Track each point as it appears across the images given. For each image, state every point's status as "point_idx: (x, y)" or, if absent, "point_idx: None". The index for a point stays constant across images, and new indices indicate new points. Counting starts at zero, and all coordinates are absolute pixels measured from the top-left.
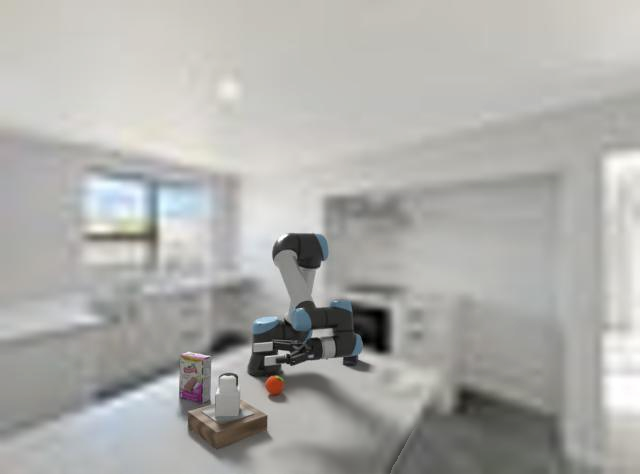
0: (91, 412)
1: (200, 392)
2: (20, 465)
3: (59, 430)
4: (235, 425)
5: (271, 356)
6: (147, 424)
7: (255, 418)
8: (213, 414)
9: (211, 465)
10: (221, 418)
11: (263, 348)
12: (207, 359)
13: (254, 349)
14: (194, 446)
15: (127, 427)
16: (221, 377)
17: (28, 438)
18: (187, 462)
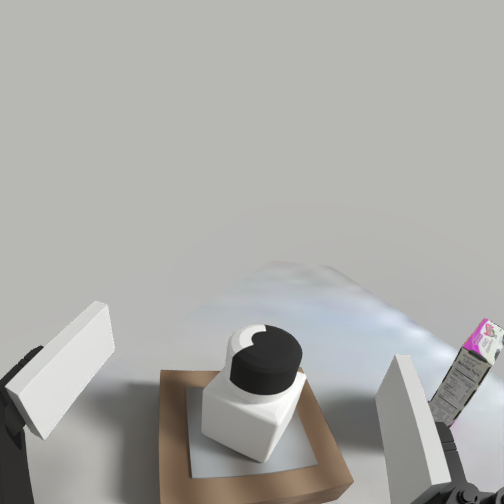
0: (388, 311)
1: None
2: (270, 264)
3: (341, 288)
4: (161, 410)
5: (73, 323)
6: (330, 348)
7: (162, 466)
8: None
9: (120, 366)
10: None
11: (394, 439)
12: (475, 360)
13: (381, 386)
14: None
15: (328, 329)
16: (259, 325)
17: (329, 273)
18: (157, 350)
